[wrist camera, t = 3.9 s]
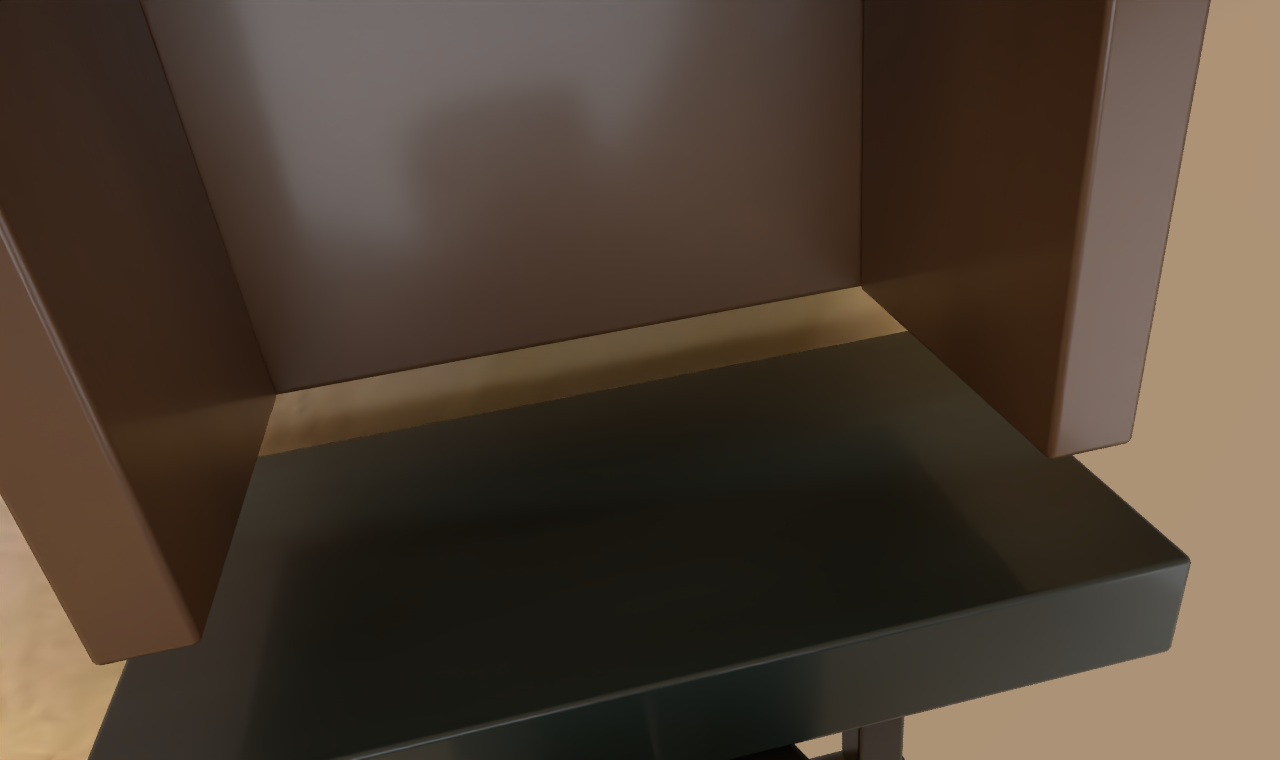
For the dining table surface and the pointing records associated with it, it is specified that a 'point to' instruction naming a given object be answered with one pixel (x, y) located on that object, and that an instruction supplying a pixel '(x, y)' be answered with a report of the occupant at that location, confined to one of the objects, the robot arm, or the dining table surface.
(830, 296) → the dining table surface
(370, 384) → the dining table surface
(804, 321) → the dining table surface
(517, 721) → the drawer
